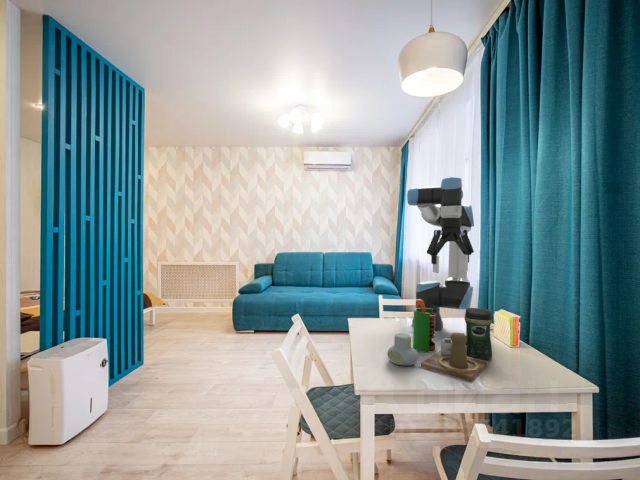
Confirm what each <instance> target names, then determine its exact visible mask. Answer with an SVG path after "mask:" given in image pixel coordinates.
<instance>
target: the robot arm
mask: <svg viewBox="0 0 640 480" xmlns="http://www.w3.org/2000/svg"><path fill="white" fill-rule="evenodd" d="M462 182H463V181H462V178H461V177H459V176H447V177H443V178H441V179H440V186H427V187H413V188H409V189H408V190H407V194H406V200H407V204H408V205H409V206H416V207H417V208H418V210H419V211H420V214H421V217H422V219H423V220H424V221H425V222H426V223H428V224H430V225H432V226H435V227H440V228H441V230H440V229H434V231H433V236H432V238H431V240H430V242H429V243H430V244H429V246H428V248H427V250H426V254H429V256H431V258H430V259H431V264H432V273H435V274H439V273H440V256H439V253H440V251H441V250H442V248H444V246H445V244H447V242H448V268H447V269H448V272H447V276H448V277H447V278H446V279H445V281H444V284H443V283H442V284H441V282H440V281H439V280H428V281H427V280H426V281H420V282H418V283H417V284H416V287H415V300H416V299H421V300H423V302H424V305H425V308H430V309H433V313H434V314H435V315H436V317H433V318H435V321H434V322H435V330H434V331H441V330H443V329H444V323H443V319H442V316H441V313H440V311H441V309H442V308H443V309H451V310H452V309H454V310H464V311H466V309H467V308H471V303H472V299H473V290H474V287H473V285H471V282H470V281H469V280H468V277H467V276H468V272H469V262H470V256H471V255H472V254H473V253H475V252H474V248H473V246H472V243H471V241H470V238H469V235H468V233H469V232H471V230H472V228H473V227H474V226H475V222H474V221H475V220H474V213H473V207H472V205H470V204H466V203H465V204H463V203H462V200H463V197H464V192H463V189H462V187H463V183H462ZM415 308H421V305H416V304H415ZM440 308H441V309H440ZM413 322H414V317H413V318H412V321H411V325H412V327H413Z"/></svg>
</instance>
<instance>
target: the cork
mask: <svg viewBox="0 0 640 480" xmlns="http://www.w3.org/2000/svg"><path fill="white" fill-rule="evenodd" d="M450 339H451V341H452V347H451V354H450V361H449V365H450V366H452V367H455V368H460V369H465V368H468V363H467V355H466V348H465V343H466V342H467V337H466V334H465V333H461V332H453V333H451V334H450Z"/></svg>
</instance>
